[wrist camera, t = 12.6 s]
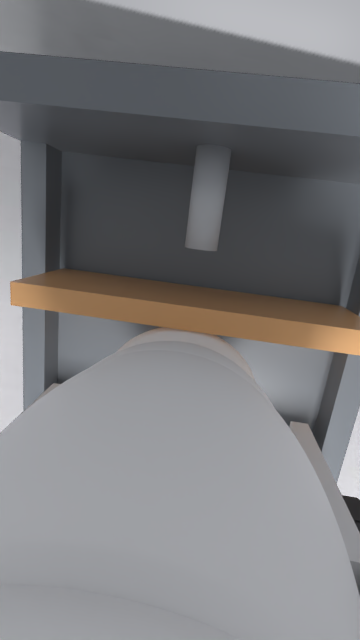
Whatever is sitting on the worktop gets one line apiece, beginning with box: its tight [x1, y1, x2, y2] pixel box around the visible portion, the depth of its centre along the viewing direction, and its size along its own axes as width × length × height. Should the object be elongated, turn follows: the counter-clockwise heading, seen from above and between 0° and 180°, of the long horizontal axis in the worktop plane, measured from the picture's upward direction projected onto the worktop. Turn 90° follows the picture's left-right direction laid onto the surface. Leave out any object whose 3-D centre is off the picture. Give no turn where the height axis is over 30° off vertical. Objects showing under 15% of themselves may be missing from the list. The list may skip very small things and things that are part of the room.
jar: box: [0, 327, 360, 640], centre depth 11 cm, size 11×10×15 cm
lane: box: [0, 51, 360, 484], centre depth 19 cm, size 21×22×10 cm
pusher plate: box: [10, 268, 360, 356], centre depth 19 cm, size 1×18×6 cm, turn 83°
